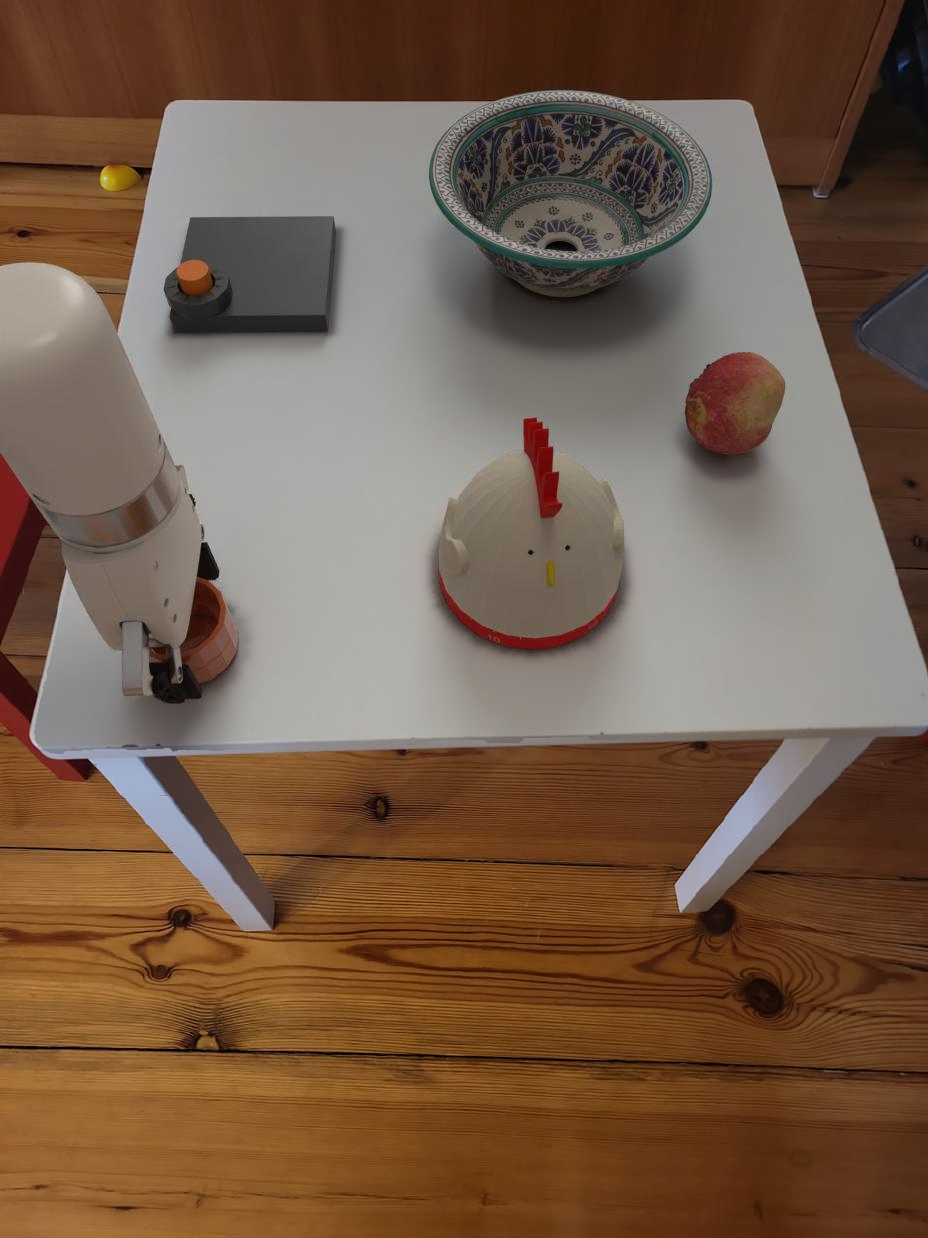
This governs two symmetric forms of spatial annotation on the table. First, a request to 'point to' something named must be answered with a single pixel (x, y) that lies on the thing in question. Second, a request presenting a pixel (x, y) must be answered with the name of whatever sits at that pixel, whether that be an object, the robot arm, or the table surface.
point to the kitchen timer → (532, 548)
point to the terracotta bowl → (206, 634)
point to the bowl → (569, 186)
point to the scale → (257, 275)
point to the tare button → (194, 278)
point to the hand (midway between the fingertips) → (189, 633)
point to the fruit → (734, 403)
